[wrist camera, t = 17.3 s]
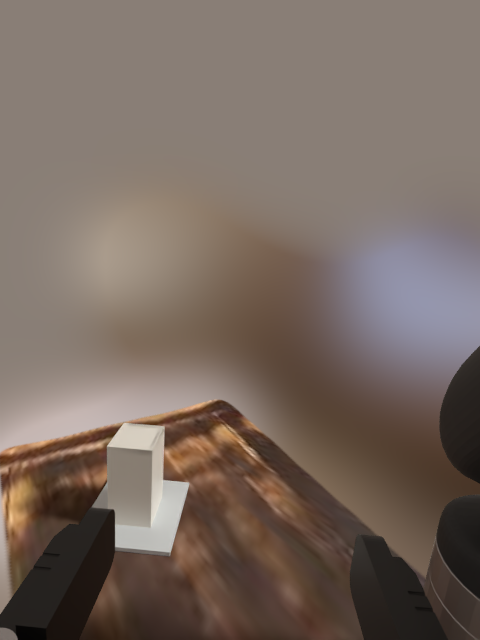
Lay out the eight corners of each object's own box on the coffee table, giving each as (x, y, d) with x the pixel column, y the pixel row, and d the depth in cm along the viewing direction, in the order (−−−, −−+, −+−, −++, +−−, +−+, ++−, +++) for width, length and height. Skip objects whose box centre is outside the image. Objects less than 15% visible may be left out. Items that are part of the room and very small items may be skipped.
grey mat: (111, 478, 56) (111, 475, 56) (188, 485, 56) (189, 482, 56) (69, 546, 43) (69, 542, 43) (169, 556, 43) (169, 552, 43)
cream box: (124, 492, 52) (124, 422, 50) (162, 496, 52) (164, 426, 50) (107, 523, 47) (107, 446, 44) (150, 527, 46) (152, 450, 44)
